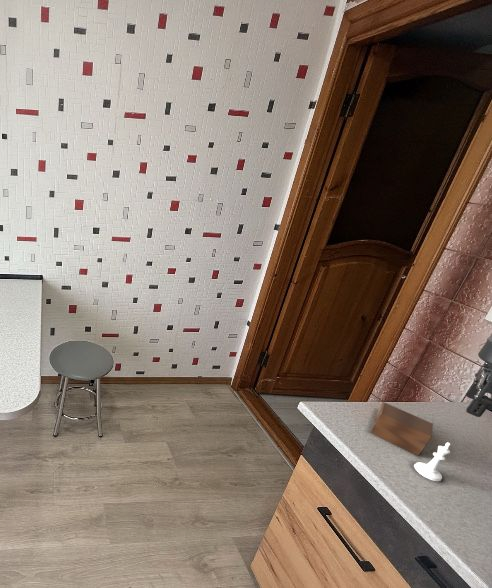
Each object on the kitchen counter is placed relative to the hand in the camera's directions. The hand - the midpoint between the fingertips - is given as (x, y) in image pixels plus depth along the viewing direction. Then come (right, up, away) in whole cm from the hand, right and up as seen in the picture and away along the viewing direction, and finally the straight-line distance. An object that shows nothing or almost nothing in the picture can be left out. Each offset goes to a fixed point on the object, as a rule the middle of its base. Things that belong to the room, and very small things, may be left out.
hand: (472, 405), depth 75 cm
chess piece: (-3, -19, +7) cm, 20 cm away
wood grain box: (+1, -14, +19) cm, 23 cm away
